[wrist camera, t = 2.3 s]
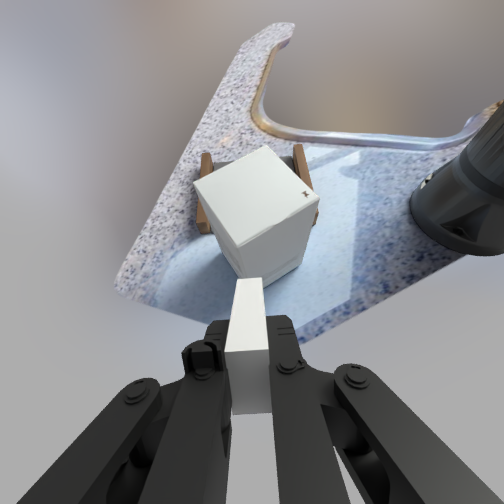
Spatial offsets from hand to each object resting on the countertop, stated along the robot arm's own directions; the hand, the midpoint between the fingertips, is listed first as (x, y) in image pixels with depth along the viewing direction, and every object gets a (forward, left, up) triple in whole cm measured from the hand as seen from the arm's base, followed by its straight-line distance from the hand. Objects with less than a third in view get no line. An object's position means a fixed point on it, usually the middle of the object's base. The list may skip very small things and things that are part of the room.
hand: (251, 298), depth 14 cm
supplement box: (-1, -12, -17) cm, 21 cm away
